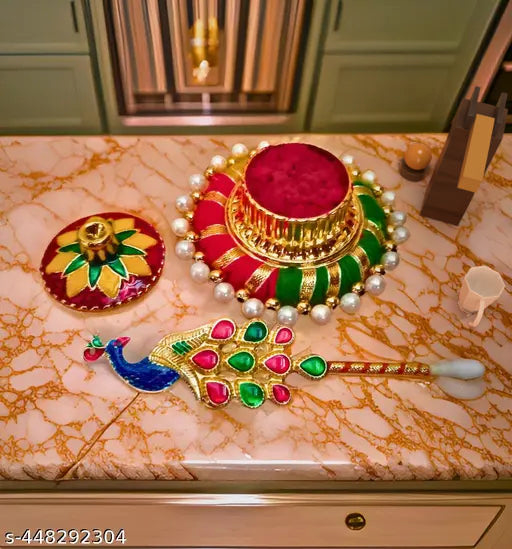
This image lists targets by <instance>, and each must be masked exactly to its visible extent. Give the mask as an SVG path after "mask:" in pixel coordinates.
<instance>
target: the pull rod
mask: <svg viewBox="0 0 512 549" xmlns="http://www.w3.org/2000/svg"><path fill="white" fill-rule="evenodd" d="M494 120H495V118H491V117H487V116H483V115H479V114H477V115H476V117H475V119H474V122H473V124H472V126H471V130H470V135H469V139H468V143H467V148H466V152H465V156H464V161H463V165H462V169H461V174H460V178H459V182H458V188H460V189H464V190H468V191H471V192H475V194H476V193H477V192H478V191H479V188H480V186H481V184H482V183H483V180H484V176H485V174H484V170H485V165H486V160H487V155H488V150H489V145H490V140H491V135H492V130H493V125H494ZM483 175H484V176H483Z"/></svg>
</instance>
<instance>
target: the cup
mask: <svg viewBox="0 0 512 549" xmlns="http://www.w3.org/2000/svg"><path fill="white" fill-rule="evenodd" d="M505 288H506V285H505V283H504V280H503V278H502V275H501V273H500V272H498V271H496V270H494V269H493V268H490V267H489V266H487V265H480V266H479V265H478V266H471V267H470V268H469V270H468V271H467V272H466V274H465V276H464V278H463V281H462V284H461V287H460V290H459V295H458V296H459V298H458V301H457V305H458V307H459V309H460V311H462V312H463V313H464V314H465V313H466V318H469V317H472V316H473V315H476V317H475V319H474V320H473V322H470V321H468V325H469V326H470V327H474V328H477V326H478V325H479V323H480V322H481V320H482V317H483V314H484V311H485V309H486V308H488V307H489V306H490V305H491V304H492V303H493V302H495V301H496V300H497V299H498V298H499V297H500V296H501V295H502V292H503V291H504V289H505Z"/></svg>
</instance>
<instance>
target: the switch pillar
mask: <svg viewBox="0 0 512 549" xmlns="http://www.w3.org/2000/svg"><path fill="white" fill-rule="evenodd" d="M481 89H482V88H481V86H479V85H478V86H477V85H475V86H474V89H473V91H472V94H471V96H470V98H469V99H468V98H464V97H463V98H461V102H460V104H459V106H458V109H457V112H456V115H455V117H454V119H453V122H452V124H451V126H450V129H449V132H448V133H447V137H446V139H445V142H444V144H443V146H442V149H441V152H440V154H439V156H438V159H437V162H436V163H435V166H434V168H433V172H432V174H431V176H430V179H429V180H428V181H429V182H428V183H427V186H426V189H425V193H424V197H423V200H422V205H421V208H420V211H419V216H420V217H423V218H424V217H425V218H428V219H431V220H434V221H438V222H442V223H444V224H449V225H452V226H456V227H459V225H460V224H461V222H462V219H463V218H464V216H465V214H466V211H467V210H468V207H469V206H470V204H471V202H472V200H473V198H474V196H475V194H476V193H475V192H471V191H468V190H464V189H460V188H458V182H459V178H460V174H461V169H462V165H463V161H464V156H465V152H466V148H467V143H468V139H469V135H470V130H471V126H472V124H473V122H474V119H475V117H476V115H477V114H479V115H483V116H487V117H491V118H495V120H494V125H493V130H492V135H491V140H490V145H489V150H488V155H487V160H486V165H485V170H484V175H483V177H484V176H485V174H486V172H487V170H488V168H489V167H490V165H491V162H492V161H493V159H494V157H495V155H496V153H497V151H498V149H499V147H500V145H501V143H502V141H503V139H504V134H505V127H506V123H507V119H508V118H507V117H508V111H509V109H508V108H506V103H507V99H508V93H506V92H501V94H500V96H499V99H498V101H497V103H496V105H492V104H488V103H484V102H480V101H479V96H480V92H481Z"/></svg>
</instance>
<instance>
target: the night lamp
mask: <svg viewBox="0 0 512 549" xmlns="http://www.w3.org/2000/svg"><path fill="white" fill-rule="evenodd" d="M432 158H433V153H432V150H431V148H430V147H429V146H428V145H427V144H425V143H422V142H415V143H412V144H411V145H409V146H408V147H407V148H406V150H405V152H404V156H403V158H402V159H401V160H400V165H399V167H398V171H399V174H400V176H401V177H402V178H403V179H405V180H406V181H409V182H421V181H424V179H426V177H427V175H428V172H429V170H430V163H431V162H432Z"/></svg>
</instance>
